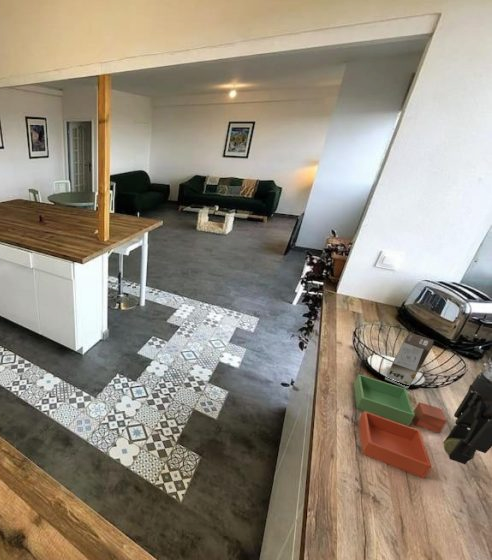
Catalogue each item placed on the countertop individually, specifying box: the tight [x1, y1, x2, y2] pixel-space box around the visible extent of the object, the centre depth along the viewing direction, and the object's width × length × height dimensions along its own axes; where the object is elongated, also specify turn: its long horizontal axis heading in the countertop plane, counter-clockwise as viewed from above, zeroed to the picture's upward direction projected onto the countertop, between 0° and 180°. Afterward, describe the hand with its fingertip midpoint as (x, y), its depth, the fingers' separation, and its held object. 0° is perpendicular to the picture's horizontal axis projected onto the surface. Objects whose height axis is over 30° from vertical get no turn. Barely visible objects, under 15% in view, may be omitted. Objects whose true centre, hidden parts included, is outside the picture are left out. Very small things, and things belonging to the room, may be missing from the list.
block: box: [413, 401, 448, 434], centre depth 90 cm, size 5×5×5 cm
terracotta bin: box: [358, 411, 433, 479], centre depth 84 cm, size 12×12×4 cm
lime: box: [443, 438, 476, 462], centre depth 76 cm, size 4×5×5 cm
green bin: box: [353, 373, 415, 427], centre depth 97 cm, size 12×12×4 cm
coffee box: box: [384, 332, 435, 390], centre depth 105 cm, size 9×6×16 cm
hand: (454, 453), depth 77 cm, fingers closed on lime, 4 cm apart
